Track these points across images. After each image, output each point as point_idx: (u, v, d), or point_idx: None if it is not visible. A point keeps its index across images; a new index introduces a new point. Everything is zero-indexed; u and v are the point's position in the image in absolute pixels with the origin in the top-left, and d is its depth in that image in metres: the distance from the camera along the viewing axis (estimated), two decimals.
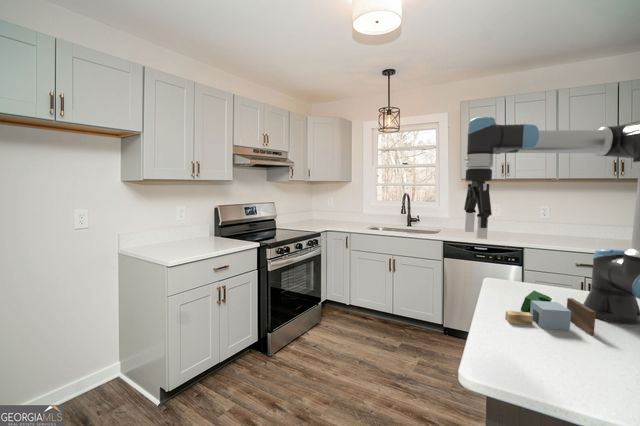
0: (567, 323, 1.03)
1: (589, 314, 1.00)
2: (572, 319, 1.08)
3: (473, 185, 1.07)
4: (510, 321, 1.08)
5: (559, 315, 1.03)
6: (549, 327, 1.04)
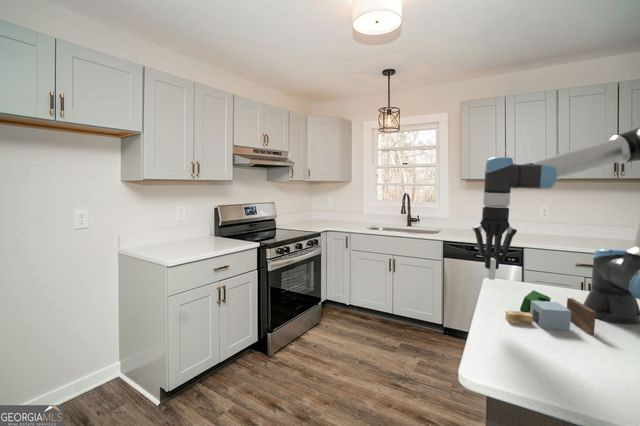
0: (567, 323, 1.03)
1: (589, 314, 1.00)
2: (572, 319, 1.08)
3: None
4: (509, 321, 1.08)
5: (559, 315, 1.03)
6: (549, 327, 1.04)
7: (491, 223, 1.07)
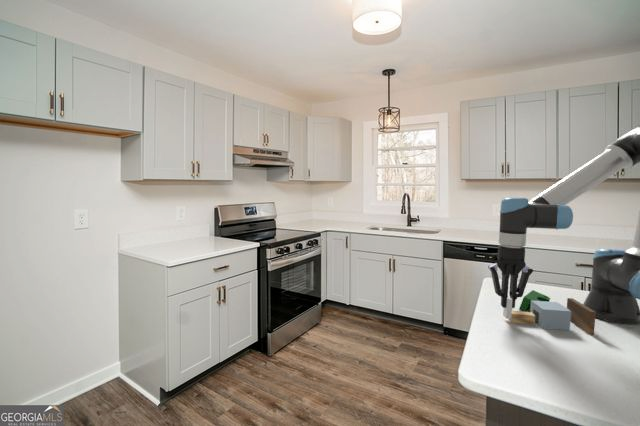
0: (567, 323, 1.03)
1: (589, 314, 1.00)
2: (572, 319, 1.08)
3: None
4: (512, 320, 1.08)
5: (559, 315, 1.03)
6: (549, 327, 1.04)
7: (507, 262, 1.07)
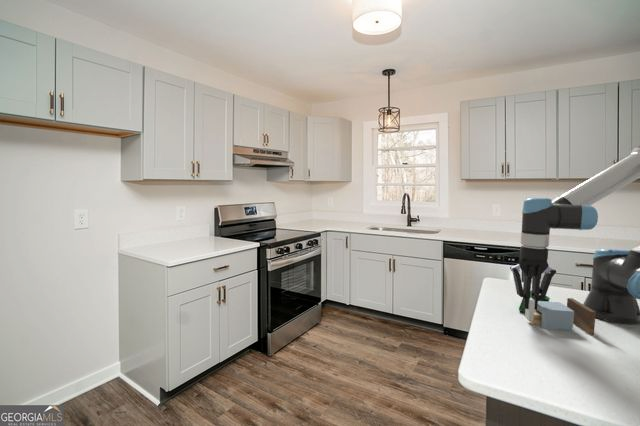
0: (570, 323, 1.03)
1: (589, 314, 1.00)
2: None
3: None
4: (534, 322, 1.07)
5: (562, 315, 1.03)
6: (552, 327, 1.04)
7: (530, 263, 1.06)
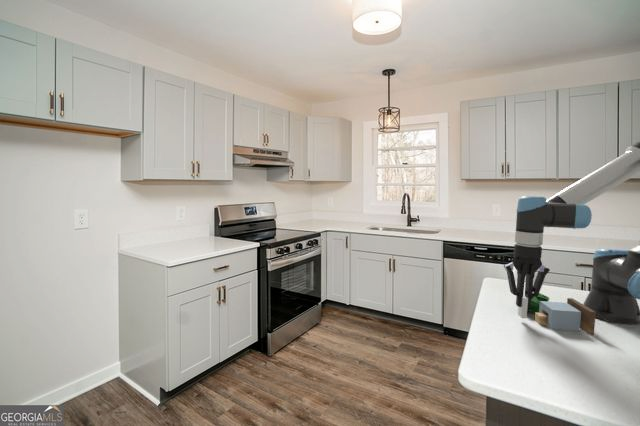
0: (577, 324, 1.03)
1: (589, 314, 1.00)
2: None
3: None
4: (540, 323, 1.07)
5: (569, 316, 1.03)
6: (559, 328, 1.03)
7: (523, 262, 1.06)
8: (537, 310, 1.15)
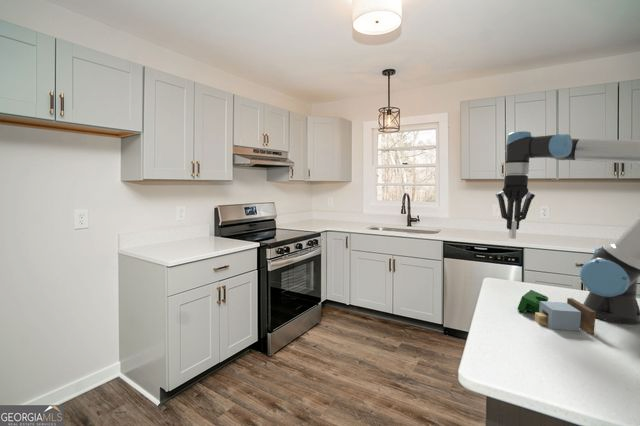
0: (577, 324, 1.03)
1: (589, 314, 1.00)
2: None
3: None
4: (540, 323, 1.07)
5: (569, 316, 1.03)
6: (559, 328, 1.03)
7: (512, 189, 1.23)
8: (536, 310, 1.16)
